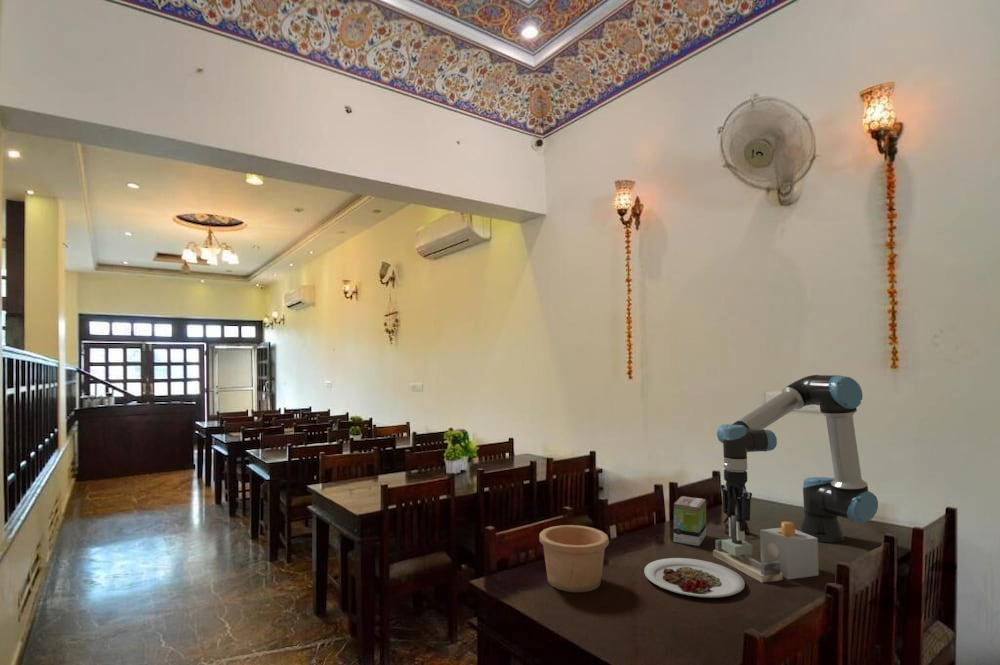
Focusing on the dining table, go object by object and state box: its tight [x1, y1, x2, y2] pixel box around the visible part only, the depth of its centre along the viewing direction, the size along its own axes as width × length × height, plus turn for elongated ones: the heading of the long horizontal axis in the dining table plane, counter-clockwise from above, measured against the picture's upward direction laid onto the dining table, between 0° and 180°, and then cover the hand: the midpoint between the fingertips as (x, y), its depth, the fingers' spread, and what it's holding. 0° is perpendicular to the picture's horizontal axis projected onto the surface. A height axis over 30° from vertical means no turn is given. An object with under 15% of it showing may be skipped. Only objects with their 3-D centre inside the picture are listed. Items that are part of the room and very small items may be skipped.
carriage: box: [722, 514, 754, 556], centre depth 186 cm, size 7×7×12 cm
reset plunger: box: [780, 521, 796, 537], centre depth 179 cm, size 4×4×8 cm
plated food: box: [643, 557, 746, 598], centre depth 171 cm, size 30×30×3 cm
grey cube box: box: [759, 527, 820, 580], centre depth 179 cm, size 12×12×12 cm
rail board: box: [712, 537, 784, 584], centre depth 182 cm, size 8×24×6 cm, turn 15°
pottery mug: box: [722, 515, 751, 535], centre depth 219 cm, size 12×10×8 cm
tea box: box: [673, 495, 707, 547], centre depth 211 cm, size 15×10×15 cm
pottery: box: [538, 524, 610, 594], centre depth 170 cm, size 22×22×14 cm
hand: (736, 537), depth 186 cm, fingers closed on carriage, 3 cm apart
